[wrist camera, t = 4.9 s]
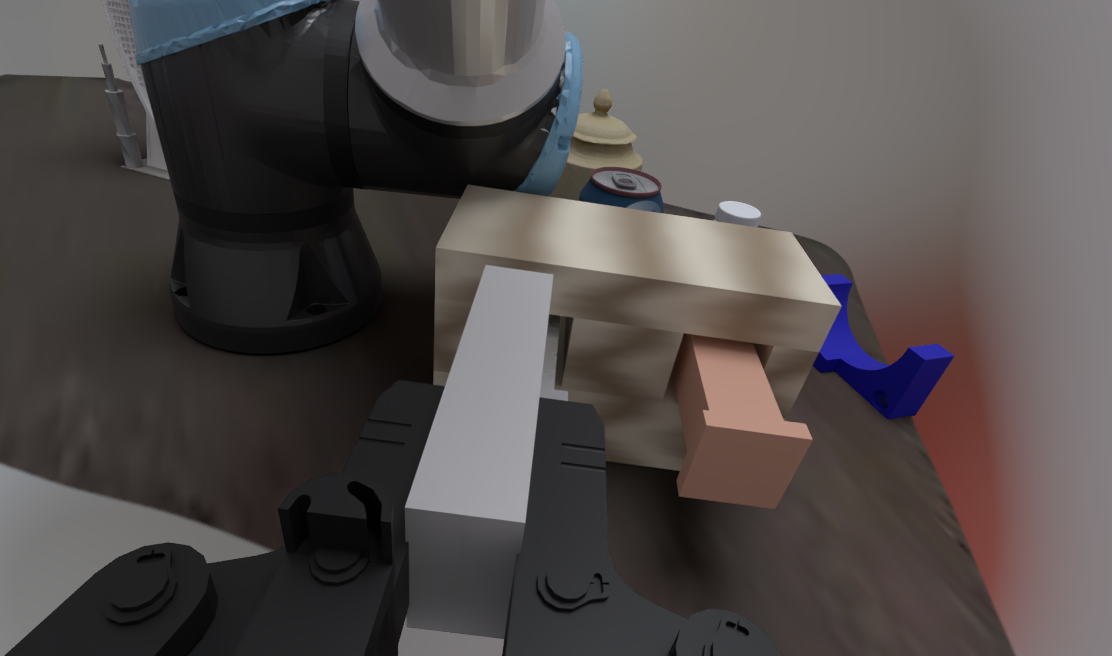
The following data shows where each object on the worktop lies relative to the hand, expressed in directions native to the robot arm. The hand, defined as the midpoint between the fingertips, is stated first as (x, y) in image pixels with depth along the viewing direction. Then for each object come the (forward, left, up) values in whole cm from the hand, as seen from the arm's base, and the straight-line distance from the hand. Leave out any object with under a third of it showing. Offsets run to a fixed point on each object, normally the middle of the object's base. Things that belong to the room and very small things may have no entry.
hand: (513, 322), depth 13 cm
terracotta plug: (+11, +14, -14) cm, 23 cm away
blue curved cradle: (+27, +29, -20) cm, 44 cm away
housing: (+5, +20, -20) cm, 28 cm away
